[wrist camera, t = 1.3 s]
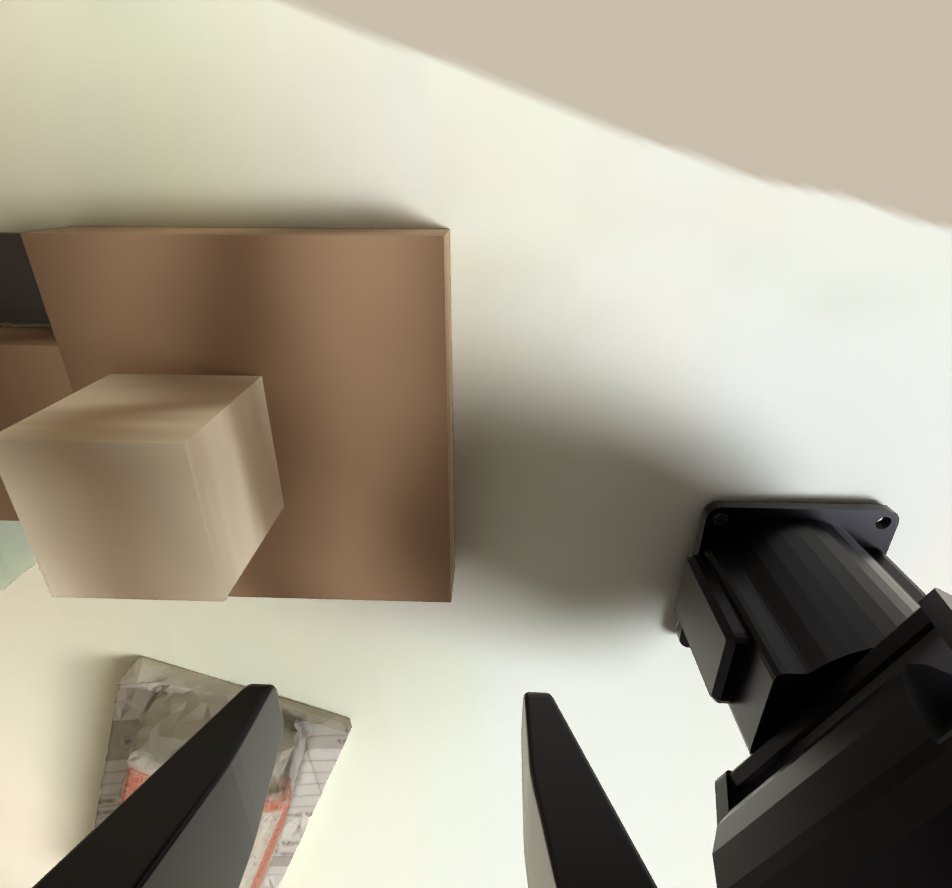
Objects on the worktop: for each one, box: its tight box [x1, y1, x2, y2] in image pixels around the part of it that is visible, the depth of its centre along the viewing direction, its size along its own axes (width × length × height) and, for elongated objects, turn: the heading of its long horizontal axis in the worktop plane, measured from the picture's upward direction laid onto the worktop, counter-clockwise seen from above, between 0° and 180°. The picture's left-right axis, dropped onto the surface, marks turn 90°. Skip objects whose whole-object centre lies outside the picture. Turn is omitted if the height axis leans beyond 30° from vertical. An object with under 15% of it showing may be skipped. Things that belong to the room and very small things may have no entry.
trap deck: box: [0, 226, 455, 602], centre depth 17 cm, size 23×12×4 cm, turn 90°
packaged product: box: [95, 657, 352, 888], centre depth 27 cm, size 18×5×10 cm
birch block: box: [0, 374, 284, 601], centre depth 15 cm, size 4×4×4 cm
